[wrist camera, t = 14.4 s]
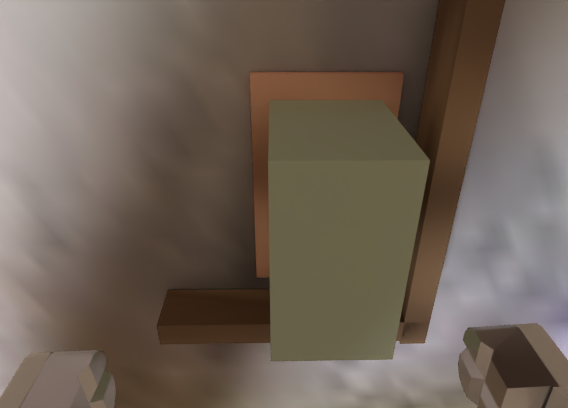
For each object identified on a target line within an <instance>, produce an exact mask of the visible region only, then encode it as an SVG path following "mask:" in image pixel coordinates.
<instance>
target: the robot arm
mask: <svg viewBox="0 0 568 408" xmlns="http://www.w3.org/2000/svg"><path fill="white" fill-rule="evenodd" d="M463 341H464V343H465V345H466V347H467V348H466V349H465V350H463V351H462V352H461V353H460V355H459V361H458V371H459V378H460V382H461V385H462V388H463V390H464V392H465V394H466V397H467V398H469V399H470V400H471V401H473V402H474V403H475V404H476V405H478V407H477V408H568V360H567V358H566V357H565V356H564V355H563V353H562V352H561V351H560V349H559V348H558V347H557V345H556V344H555V343H554V342H553V340H552V339H551V338H550V336H549V335H548V334H547V332H546V331H545V330H544V328H543V327H542V326H540V325H539V324H537V323H530V324H515V325H497V326H483V327H469V328H468V329H467V330H466V331H465V334H464V338H463ZM106 363H107V359H106V357H105V354H104V352H103V351H100V350H88V351H58V352H40V353H31V354H30V355H28V356H27V357H26V358H25V359H24V360H23V362H22V363H21V365H20V367H19V368H18V370H17V371H16V373H15V375H14V376H13V378H12V380H11V381H10V383H9V384H8V386H7V388H6V389H5V391H4V393H3V394H2V396H1V397H0V408H114V404H115V396H116V388H115V381H114V378H113V375H112V374H111V373H109V372H108V371H106V370H105V369H104V368H105V366H106Z"/></svg>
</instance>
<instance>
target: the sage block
mask: <svg viewBox="0 0 568 408" xmlns="http://www.w3.org/2000/svg"><path fill="white" fill-rule="evenodd" d="M429 164H430V160H429V158H428V157H427V156H426V155H425V153H424V152H423V151H422V149H421V148H420V147H419V146H418V144H417V143H416V142H415V141H414V139H413V138H412V137H411V136H410V134H409V133H408V132H407V131H406V129H405V128H404V127H403V126H402V124H401V123H400V122H399V121H398V119H397V118H396V117H395V116H394V114H393V113H392V112H391V111H390V109H389V108H388V107H387V106H386V104H385V103H384V102H383V101H382V100H270V104H269V145H268V189H269V263H270V336H271V361H317V360H386V359H393V354H394V349H395V343H396V338H397V333H398V328H399V322H400V317H401V312H402V306H403V301H404V296H405V291H406V285H407V280H408V275H409V269H410V264H411V259H412V254H413V248H414V243H415V238H416V232H417V227H418V222H419V217H420V211H421V206H422V201H423V195H424V190H425V185H426V180H427V174H428V169H429Z"/></svg>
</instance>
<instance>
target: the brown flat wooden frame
mask: <svg viewBox="0 0 568 408" xmlns="http://www.w3.org/2000/svg"><path fill="white" fill-rule="evenodd" d="M504 3H505V0H439V4H438V10H437V16H436V22H435V28H434V34H433V40H432V46H431V52H430V58H429V64H428V70H427V76H426V83H425V89H424V95H423V101H422V107H421V113H420V119H419V125H418V131H417V137H416V143H417V144H418V146H419V147H420V148H421V149H422V151H423V152H424V153H425V155H426V156H427V157H428V158H429V160H430V164H429V169H428V174H427V180H426V185H425V190H424V195H423V201H422V206H421V211H420V217H419V222H418V227H417V232H416V238H415V243H414V248H413V254H412V259H411V264H410V269H409V275H408V280H407V285H406V291H405V296H404V301H403V306H402V312H401V317H400V322H399V328H398V333H397V338H396V341H399V342H400V344H410V343H425V340H426V335H427V331H428V327H429V323H430V318H431V314H432V310H433V306H434V301H435V297H436V293H437V289H438V284H439V280H440V276H441V272H442V267H443V263H444V259H445V254H446V250H447V246H448V242H449V237H450V233H451V229H452V225H453V220H454V216H455V212H456V208H457V203H458V199H459V195H460V191H461V186H462V182H463V178H464V174H465V169H466V165H467V161H468V157H469V152H470V148H471V144H472V139H473V135H474V131H475V127H476V122H477V118H478V114H479V110H480V105H481V101H482V97H483V93H484V88H485V84H486V80H487V76H488V71H489V67H490V63H491V59H492V54H493V50H494V46H495V42H496V37H497V33H498V29H499V24H500V20H501V16H502V12H503V7H504ZM403 78H404V73H403V72H250V99H251V128H252V158H253V187H254V216H255V245H256V274H257V278H261V277H270V263H269V189H268V145H269V104H270V100H382V101H383V102H384V103H385V104H386V106H387V107H388V108H389V109H390V111H391V112H392V113H393V114H394V116H395V117H396V118H397V119H398V114H399V107H400V100H401V93H402V86H403ZM157 330H158V335H159V340H160V344H205V343H271V336H270V289H213V290H168V292H167V295H166V298H165V301H164V305H163V308H162V311H161V314H160V317H159V320H158V323H157Z"/></svg>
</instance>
